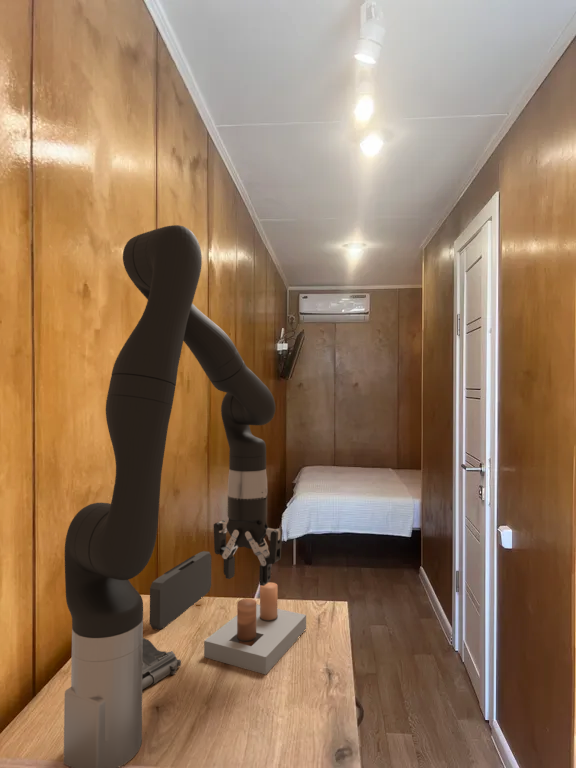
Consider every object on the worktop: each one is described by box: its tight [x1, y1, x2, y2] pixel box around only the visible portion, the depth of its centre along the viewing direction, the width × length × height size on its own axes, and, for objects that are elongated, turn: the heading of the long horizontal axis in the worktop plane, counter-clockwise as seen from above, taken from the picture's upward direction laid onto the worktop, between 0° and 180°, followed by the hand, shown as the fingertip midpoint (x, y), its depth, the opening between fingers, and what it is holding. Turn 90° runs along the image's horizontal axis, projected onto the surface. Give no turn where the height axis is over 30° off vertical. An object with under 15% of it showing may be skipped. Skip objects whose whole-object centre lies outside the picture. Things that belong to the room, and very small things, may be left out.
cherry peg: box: [236, 598, 257, 646], centre depth 91 cm, size 4×4×10 cm
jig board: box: [203, 581, 307, 676], centre depth 95 cm, size 18×13×10 cm
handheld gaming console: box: [149, 551, 212, 630], centre depth 110 cm, size 23×3×10 cm, turn 161°
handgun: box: [142, 637, 182, 691], centre depth 83 cm, size 2×17×12 cm
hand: (246, 580), depth 91 cm, fingers open, 7 cm apart
